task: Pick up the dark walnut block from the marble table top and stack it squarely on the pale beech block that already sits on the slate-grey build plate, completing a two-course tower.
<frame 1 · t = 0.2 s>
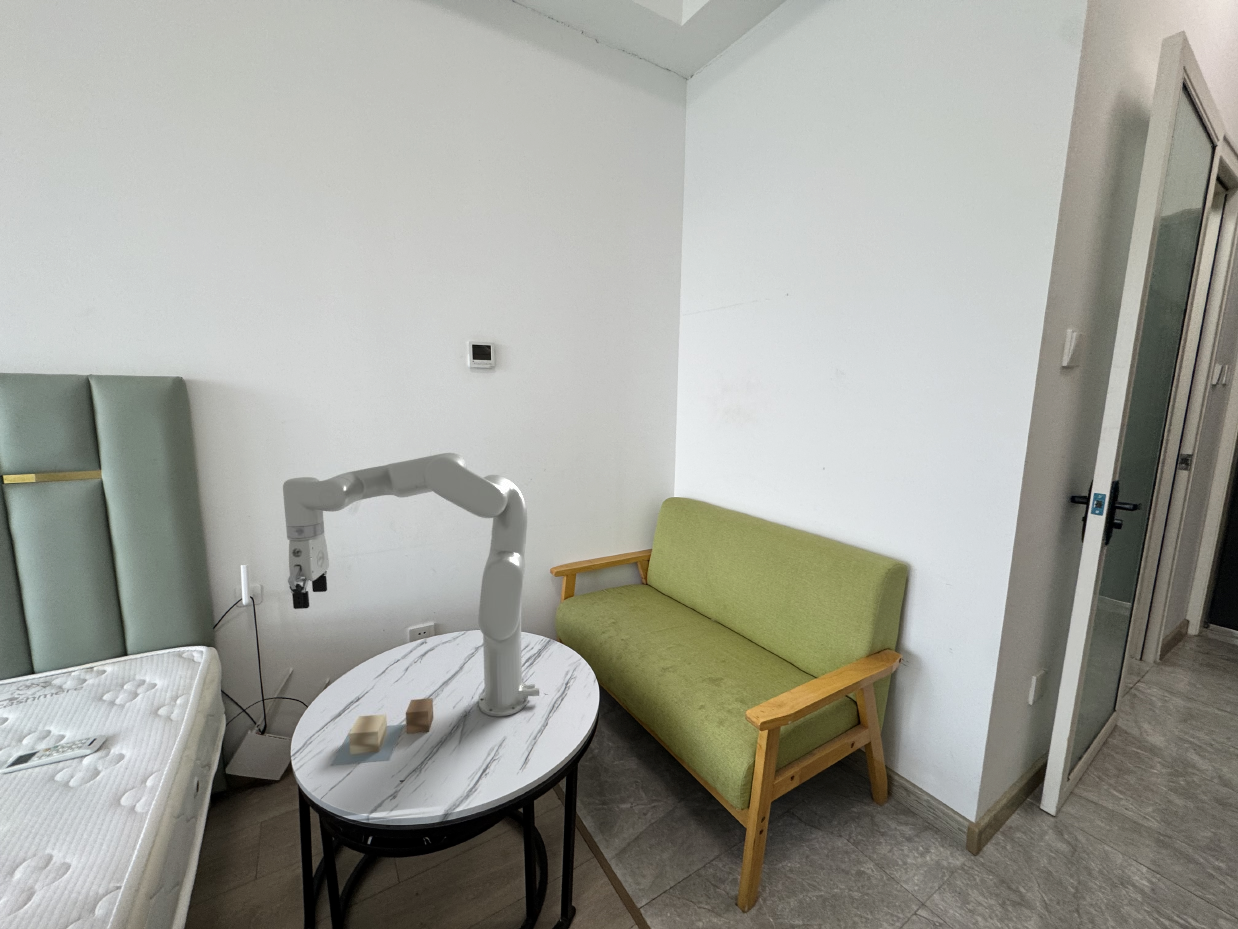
hand: (311, 599, 121), 31 cm above the table, fingers open, 9 cm apart
build plate: (369, 746, 115), on the table
beech block: (369, 743, 115), point 1 cm above the table, touching build plate
walnut block: (420, 728, 121), on the table
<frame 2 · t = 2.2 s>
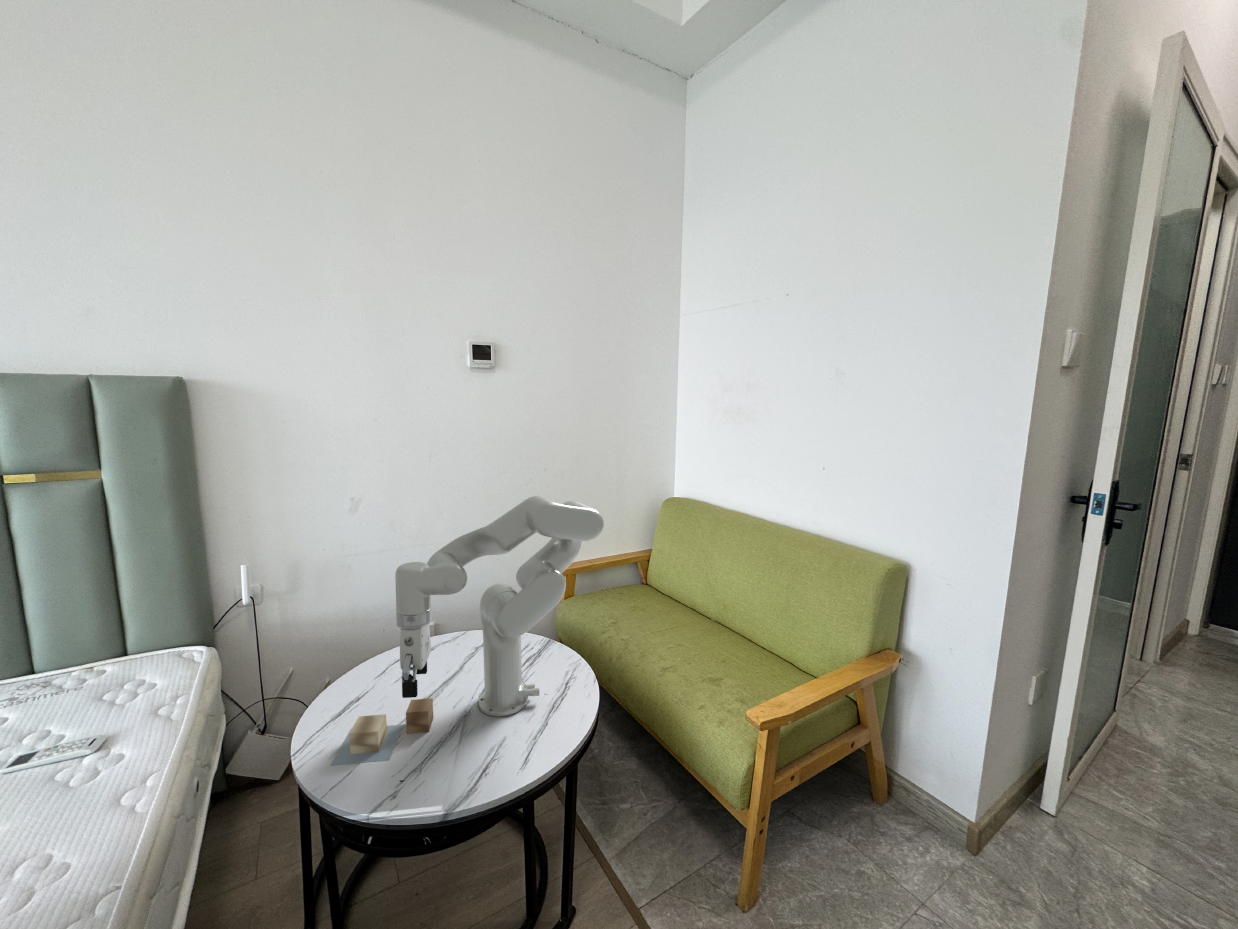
hand: (415, 684, 119), 11 cm above the table, fingers open, 9 cm apart
nothing on the table moved.
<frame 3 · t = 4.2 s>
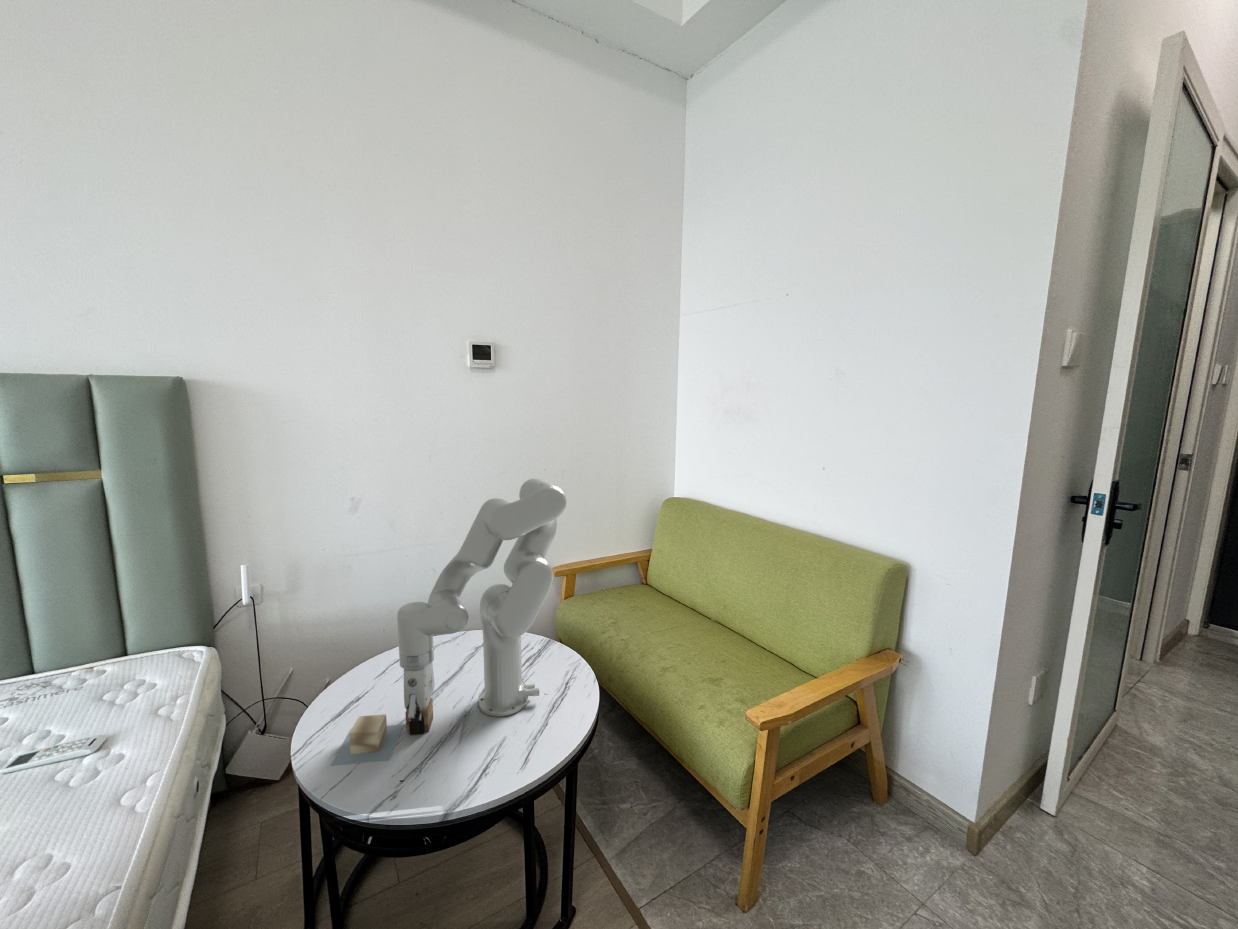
hand: (420, 725, 121), 1 cm above the table, fingers closed on walnut block, 5 cm apart
walnut block: (420, 728, 121), on the table, touching gripper
everything else where it was.
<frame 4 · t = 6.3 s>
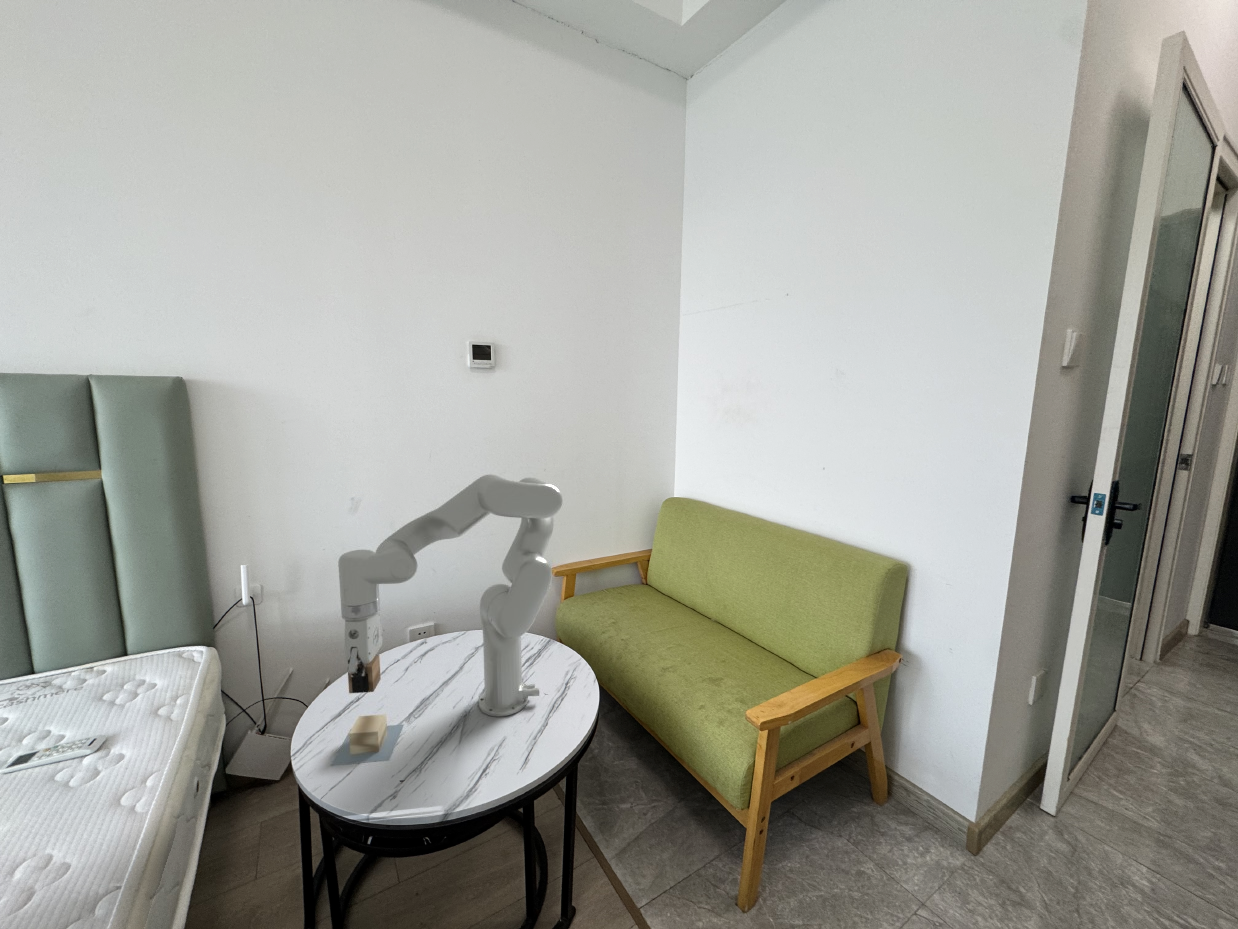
hand: (365, 683, 112), 15 cm above the table, fingers closed on walnut block, 5 cm apart
walnut block: (365, 686, 113), point 15 cm above the table, touching gripper
everything else where it was.
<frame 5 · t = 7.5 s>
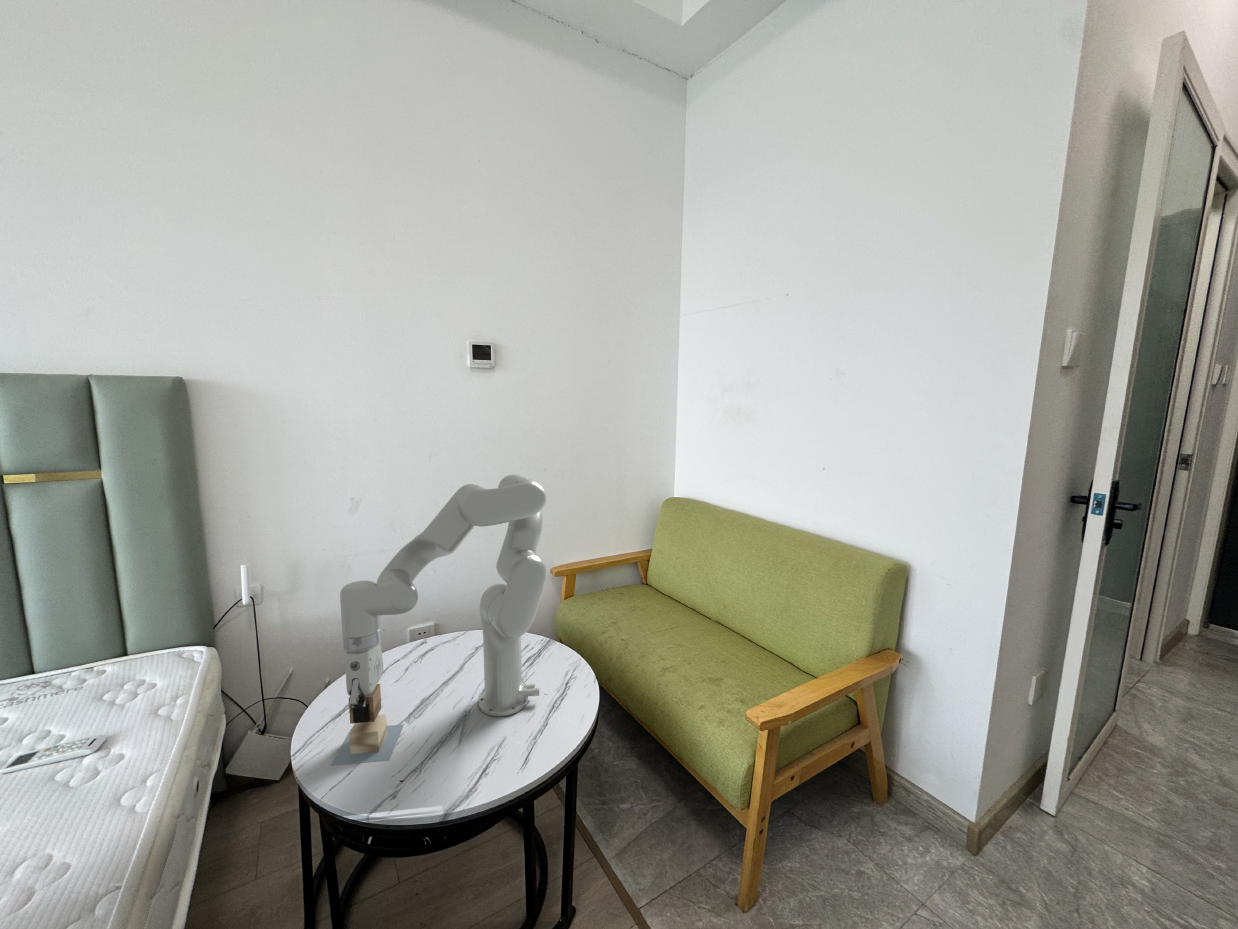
hand: (366, 713, 113), 8 cm above the table, fingers closed on walnut block, 5 cm apart
walnut block: (366, 715, 113), point 8 cm above the table, touching gripper
everything else where it was.
when the fingers open (7 cm above the table, at t = 8.5 s): walnut block stays where it is, resting on beech block.
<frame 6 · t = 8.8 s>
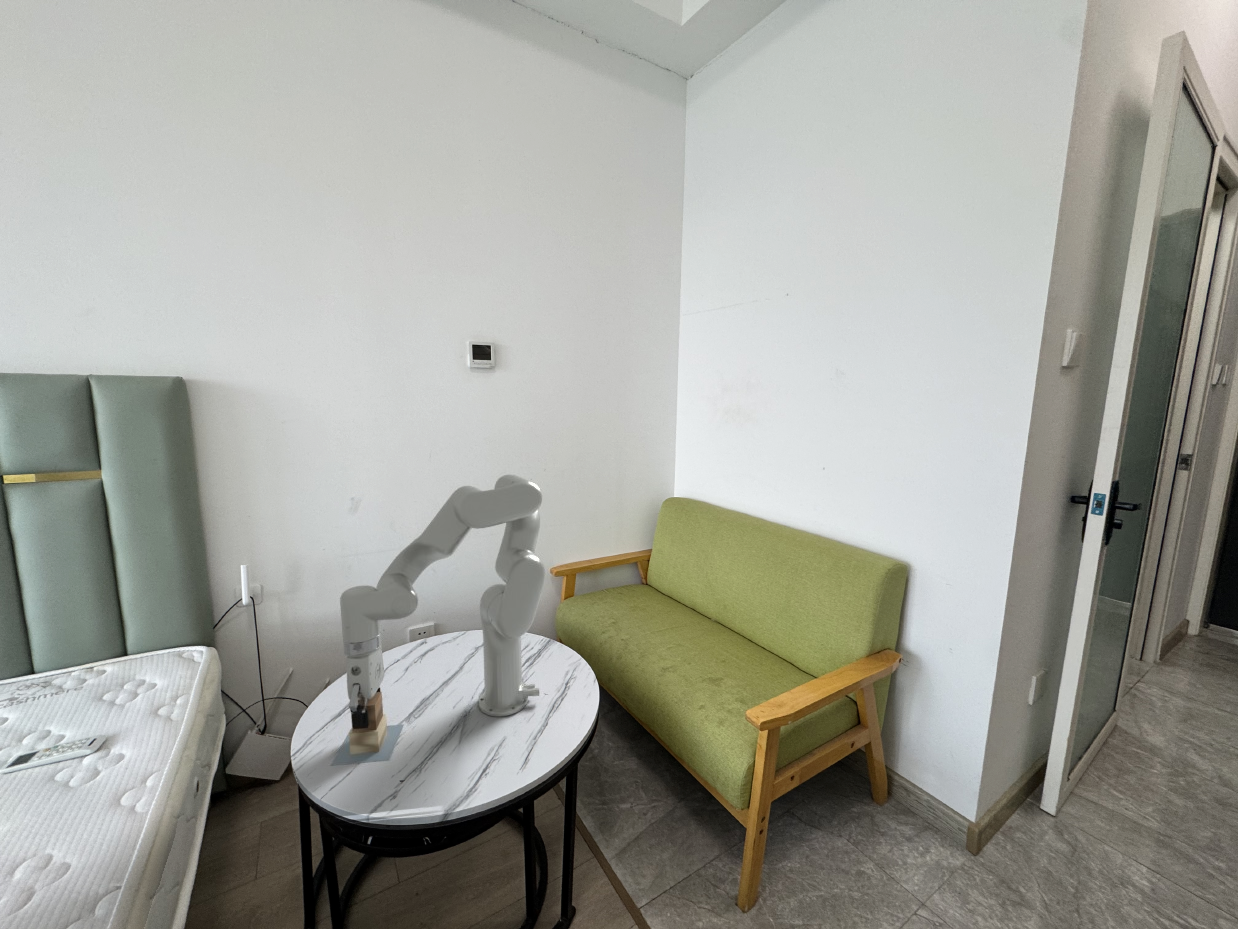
hand: (367, 715, 114), 8 cm above the table, fingers open, 7 cm apart
beech block: (369, 743, 115), point 1 cm above the table, touching build plate, walnut block
walnut block: (368, 723, 114), point 6 cm above the table, touching beech block
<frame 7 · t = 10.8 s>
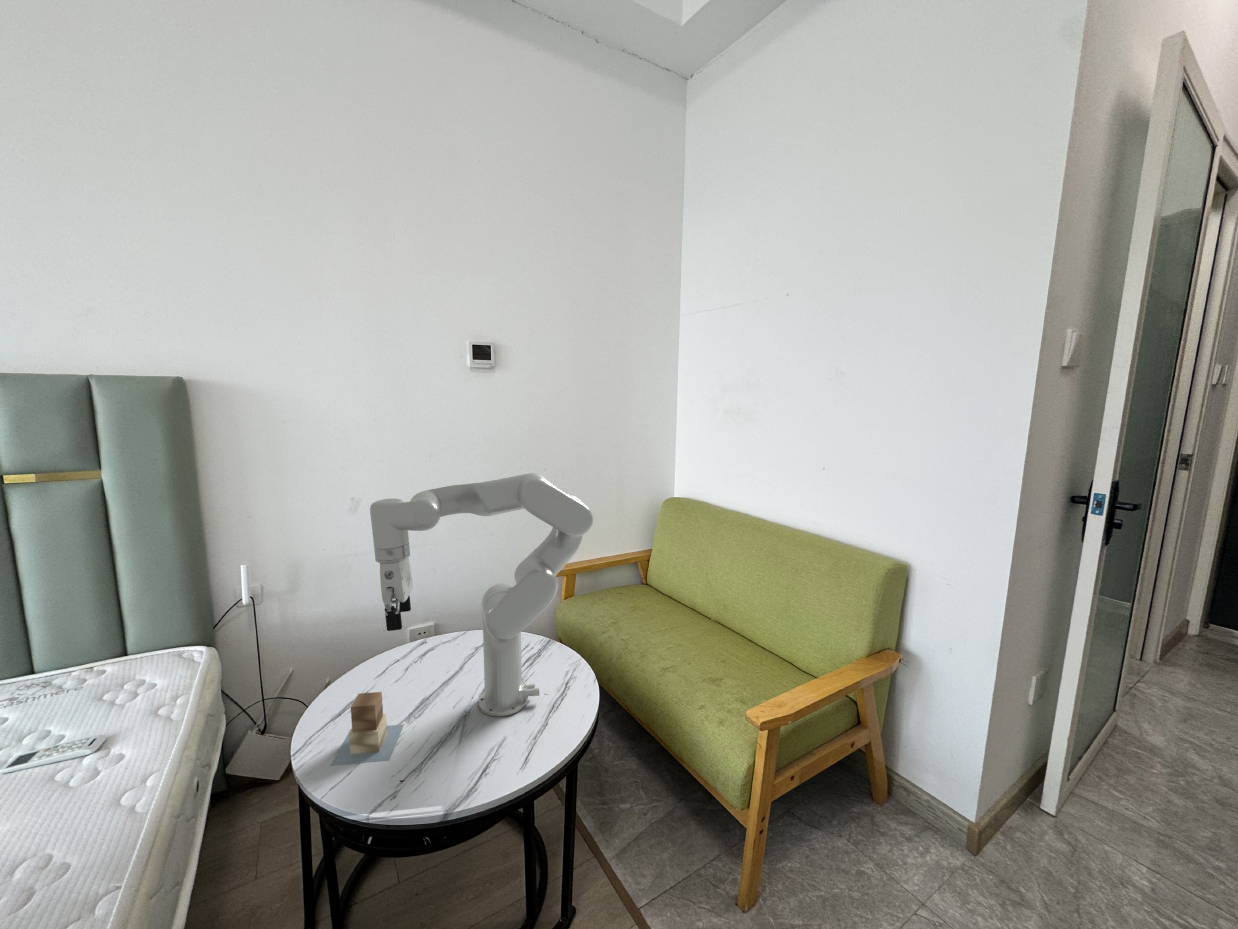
hand: (399, 620, 121), 26 cm above the table, fingers open, 9 cm apart
nothing on the table moved.
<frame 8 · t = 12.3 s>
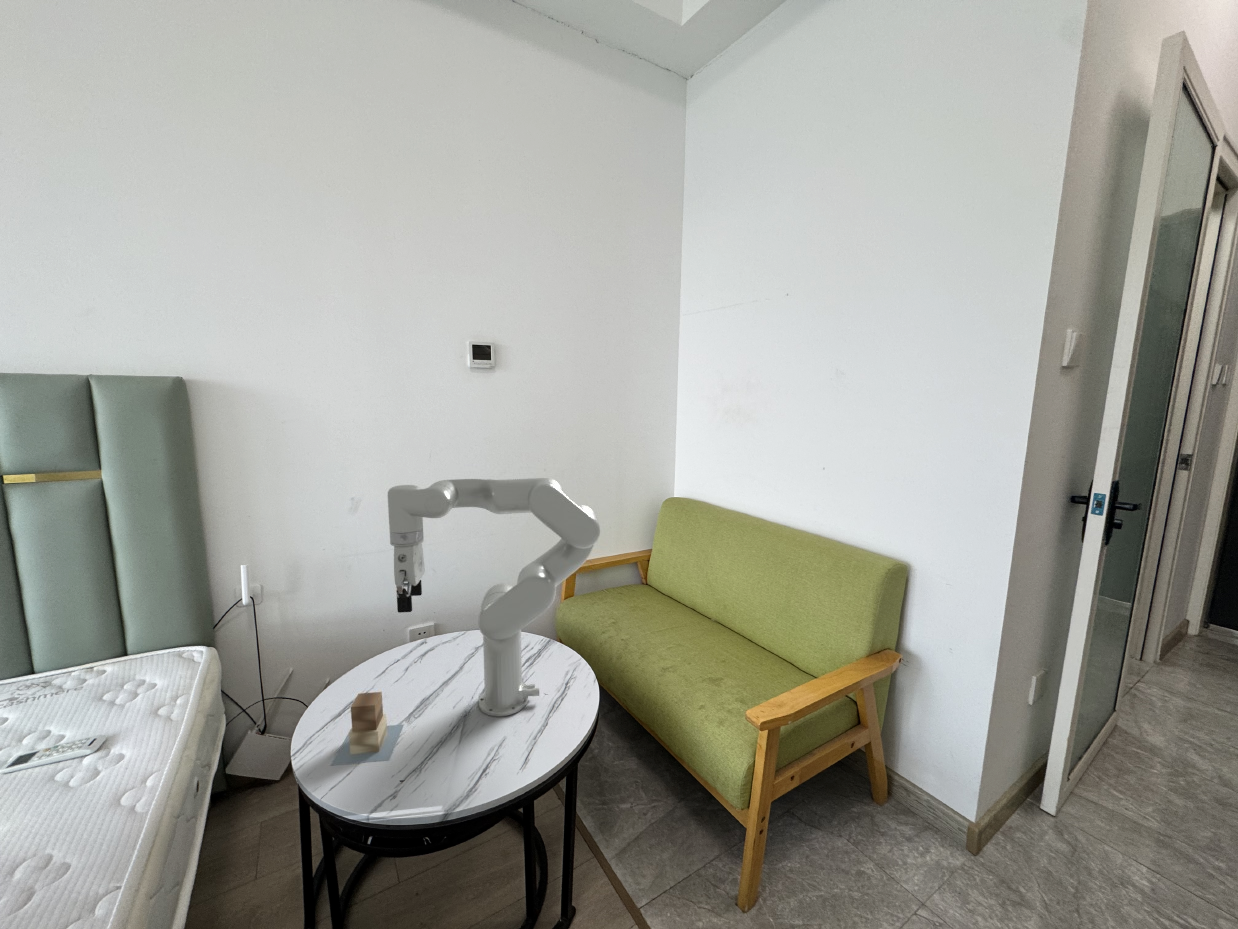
hand: (410, 603, 124), 28 cm above the table, fingers open, 9 cm apart
nothing on the table moved.
at the end: walnut block 0.0 cm off-centre on the beech block, point 5.0 cm above the beech block's base; walnut block tilted 0°; the gripper is holding nothing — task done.
